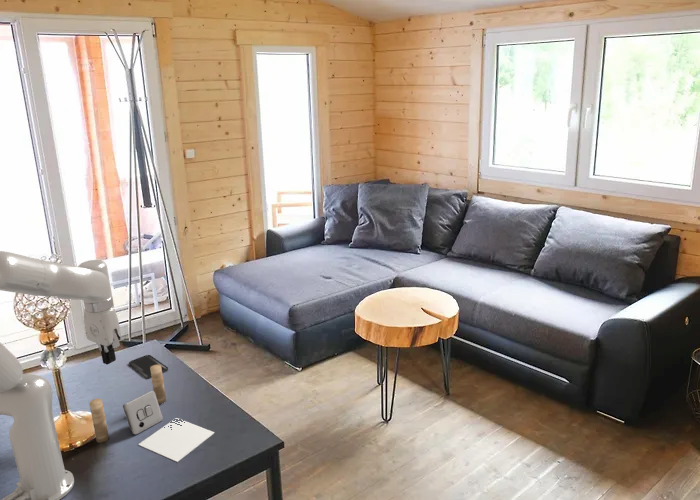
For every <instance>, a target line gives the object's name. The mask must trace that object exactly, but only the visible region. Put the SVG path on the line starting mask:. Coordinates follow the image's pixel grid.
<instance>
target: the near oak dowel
mask: <svg viewBox="0 0 700 500" xmlns="http://www.w3.org/2000/svg"><path fill="white" fill-rule="evenodd" d="M103 403H104V402H103V399H102V398H94V399H92V400H90V401H89V403H88V404H89V408H90V413H91V414H90V415H91V420H92V423H93V429H94V436H95V440H96V442H97V443H105V442H107V441H108V440H109V439H110V436H109V430H108V426H107V425H108V424H107V419H106V415H105V408H104V404H103ZM108 438H109V439H108Z"/></svg>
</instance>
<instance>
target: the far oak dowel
mask: <svg viewBox="0 0 700 500" xmlns="http://www.w3.org/2000/svg"><path fill="white" fill-rule="evenodd" d="M150 371H151V377H152V378H151V383H152V391H153V392H155V395H156V398H157V401H158V404H159V405H163V404H165V403H166V402H167V396H166V391H165V383H164V377H163V376H164V375H163V373H162V368H161V365H153V366H151V367H150ZM164 402H165V403H164ZM162 403H163V404H162Z"/></svg>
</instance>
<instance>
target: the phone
mask: <svg viewBox="0 0 700 500" xmlns="http://www.w3.org/2000/svg"><path fill="white" fill-rule="evenodd" d="M128 364H129V366H130V367H131V368H133V369H134V370H135V371H137V372H138V373H139V374H140V375H142V376H143V377H144V378H146V379H152V377H151V371H150V367H151V366H153V365H161V368H162V374H164V373H167V372H168V371H169V367H167V366H166V365H165V364H163V362H161V361H159V360H158V359H157V358H155V357H154V356H152V355H151V354H146V355H143V356H140V357H137V358H135V359H133V360H130V361H129V362H128Z"/></svg>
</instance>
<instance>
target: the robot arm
mask: <svg viewBox="0 0 700 500" xmlns="http://www.w3.org/2000/svg"><path fill="white" fill-rule="evenodd" d="M0 291H2V292H8V293H9V292H10V293H17V294H22V295H29V296H36V297H37V296H39V297H48V298H49V297H50V298H51V297H56V298H58V299H62V300H76V301H77V300H78V301H79V300H80V301H82V302H83V307H84V309H83V324H84V330H85V336H86V339H87V341H89V342H92V343H96V344H97V346H98V350H99V351H100V354H101V361H102V364H104V365H109V364H111V363H113V362H115V361H116V359H117V357H116V352H115V349H118V348H119V347H120V346H121V344H120V340H121V339H122V331H121V327H120V322H119V319H118V315H117V311H116V309H115V304H114V303H115V302H114V297H113V293H112V287H111V280H110V276H109V271H108V265H107V264H106V261H103V260H100V259H90V260H86V261H83V262H82V263H79V265H76V266H74V265H69V264H64V263H59V262H55V261H54V262H53V261H49V260H43V259H38V258H34V257H29V256H26V255H21V254H18V253H14V252H10V251H5V250H4V251H2V250H0ZM0 415H2V416H7V417H11V418H13V423H12V425H11V427H10V429H9V431H8V438H9V441H10V445H11V449H12V453H13V458H14V461H15V465H16V468H17V473H18V478H19V481H18V482H16V484H15V485H16V488H15V489H14V490H13V491H12V493H10V494H7V495H6V496H4V497H3V498H1V499H0V500H61V499H62V498H64V497H65V496H66V495H67V494H69V493H70V491H71V490H72V489H73V488H74V484H75V478H74V475H73V473H72V472H71V471H69V470H67V469H65V466H64V464H65V463H64V461H63V457H62V452H61V451H62V450H61V447H60V442H59V438H58V433H57V428H56V425H55V418H54V413H53V387H52V384H51V383H50V381H49V380H48V379H46V378H45V377H43V376H41V375H36V374H33V373H24V370H23V367H22V364H21V362H20V360H19V359H18V358H17V357H16V356H15V355H14V354H13V353H12V352H11V351H10V350H9V349H8V348H7V347H6V346H5V345H4V344H3V343H2V342H0Z"/></svg>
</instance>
